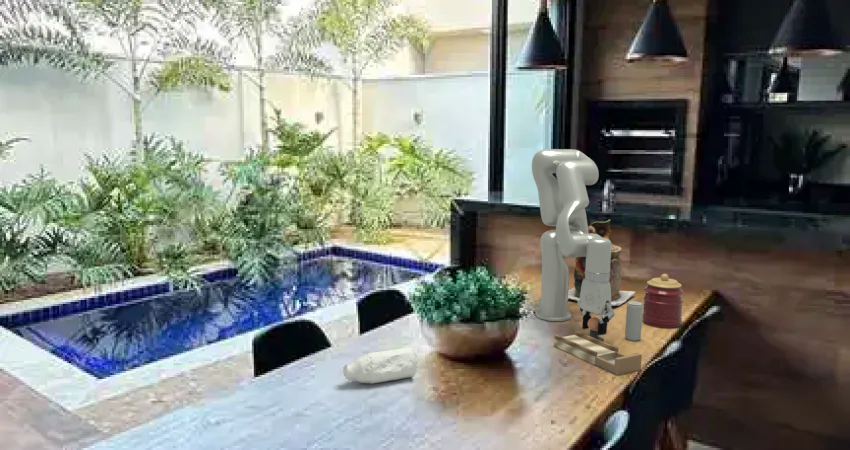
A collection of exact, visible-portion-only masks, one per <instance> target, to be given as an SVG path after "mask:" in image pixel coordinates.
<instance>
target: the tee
mask: <svg viewBox="0 0 850 450" xmlns="http://www.w3.org/2000/svg"><path fill="white" fill-rule="evenodd" d="M589 336H590V337H593V338H595V339H598V340H600V341H602V342H604V338H603V337H601V336H600V335H598V331H592V330H590V329H589Z"/></svg>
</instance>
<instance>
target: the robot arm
mask: <svg viewBox="0 0 850 450" xmlns="http://www.w3.org/2000/svg"><path fill="white" fill-rule="evenodd" d="M531 173H532V177H533V180H534V183H535V186H536V188H537V192H538V203H539V209H540V216H541V221H542V223H543V224H544V226H548V227H555V229H550V230H547V231H545V232H542V235H541V237H540V241H539V243H540V250H541V288H540V299H539V300H538V301H536V302H535V306H536V307H538V309H537V311H535V317H536V318H538V319H541V320H543V321H548V322H549V321H551V322H564V321H565V322H567V321H569V320H571V319H572V317H573V316H572V313H571V312H569V311H568V303H569V299H568V290H569V284H570V283H569V282H570V268H569V265H568V263H567V261H566V260H565V258H564V257H566V258H576V257H586V267H585V272H584V273H585V279H583V282H582V286H581V291H580V300H579V301H577V306H578V308H579V311H580V312H581V314H580V315H581V317H582V324H581V325H582V326H581V327H582V329H583V330H586V329H589V327H588V320H589V319H590V318H592V315H591V314H594V315H598V318H599V320H600V323H598V335H599V336H604V335H607V334H608V332H607V330H608V323H609V322H610V321H611V320H612V318H613V317H615V315H616V314H615V312H614V310H613V308H612V307H611V286H610V283H609V278H610V261H611V243H612V242H611V240H610V238H609V239H607V238H602V237H601V236H599V235H598V234H593V233H591V234H589V232H588V227H589V225H588V219H587V213H586V208H587V207H588V206H589V204H590V200H589V196H588V191H587V187H586V186H592V185H595V184H596V183H597V182H598V180H599V176H600V175H599V169H598V166H597V164H596V163H595V161H594V160H593V159H591V158H590V157H588V156H587V155H586V154H585V153H583V152H582V151H580V150H578V149H571V148H570V149H569V148H568V149H567V148H564V149H561V148H560V149H559V148H552V149H551V148H549V149H547V148H546V149H541V150H539V151H537V152H536V153H535V154H534V155H533V157H532V160H531ZM553 174H555V175H556V177H555V176H554V175H553Z"/></svg>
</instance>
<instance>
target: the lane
mask: <svg viewBox="0 0 850 450" xmlns="http://www.w3.org/2000/svg"><path fill="white" fill-rule="evenodd" d="M553 347H555V348H557V349H559V350H562V351H564V352H565V353H568V354H570V355H572V356H575V357H576V358H579V359H581V360H583V361H585V362H588V363H590V364H592V365H594V366H596V365H595V357H600V358H602V359H604V360H606V361H609V360H613V359H615V358H616V352H619V347H617V346H615V345H612V344H609V343H607V342H605V341H603V342H602V341H600V340H598V339H595V338H593V337H590V335H588V334H586V333H583V332H581V331H578V330H575V331H574V334H573V335H567V336H561V335H558V334H554V336H553Z"/></svg>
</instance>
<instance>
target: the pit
mask: <svg viewBox="0 0 850 450" xmlns="http://www.w3.org/2000/svg"><path fill="white" fill-rule="evenodd" d="M642 357H643V356H642V353H639V352H638V353H637V352H636V353H633V354H628V355H627V354H625V353H622V352H619V351H618V352H616V358H615V359H613V360H609V361H606V360H604V359H602V358H600V357H595V365H594V366H596V367H598V368H601V369H602V370H605V371H606V372H610V373H612V374H614V375H616V376H619V375H624V374H629V373H632V372H637V371H641V370H642Z"/></svg>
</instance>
